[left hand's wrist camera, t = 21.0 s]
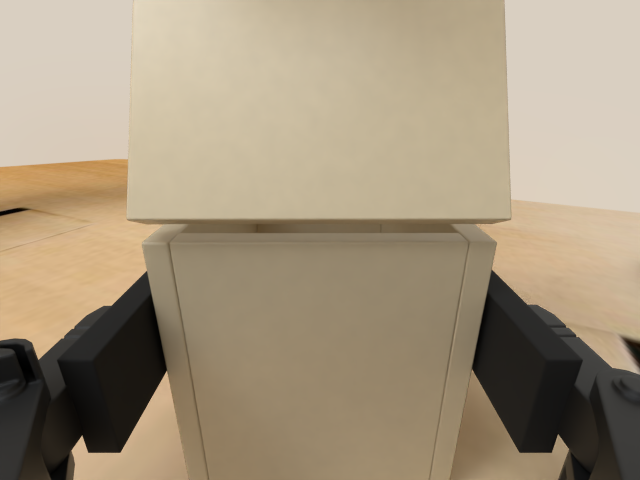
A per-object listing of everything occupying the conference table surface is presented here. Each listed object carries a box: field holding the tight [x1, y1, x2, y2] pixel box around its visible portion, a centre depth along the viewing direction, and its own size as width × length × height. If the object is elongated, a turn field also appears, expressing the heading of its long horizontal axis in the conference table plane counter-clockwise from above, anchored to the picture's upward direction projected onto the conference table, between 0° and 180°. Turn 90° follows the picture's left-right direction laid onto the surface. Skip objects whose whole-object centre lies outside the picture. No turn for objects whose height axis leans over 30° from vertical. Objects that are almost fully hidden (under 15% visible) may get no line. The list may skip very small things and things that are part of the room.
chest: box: [142, 224, 497, 480], centre depth 17 cm, size 13×9×10 cm
